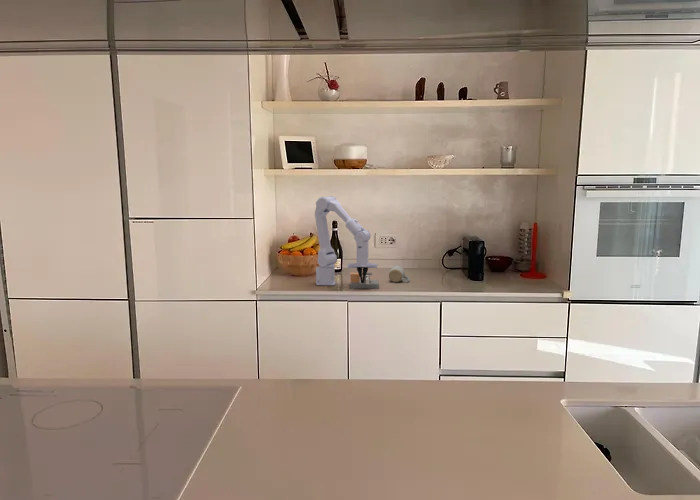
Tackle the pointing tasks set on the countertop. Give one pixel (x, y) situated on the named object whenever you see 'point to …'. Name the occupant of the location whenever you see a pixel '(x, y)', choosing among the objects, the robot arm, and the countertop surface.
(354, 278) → the orange cube
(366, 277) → the lever handle
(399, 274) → the ceramic mug
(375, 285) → the box
